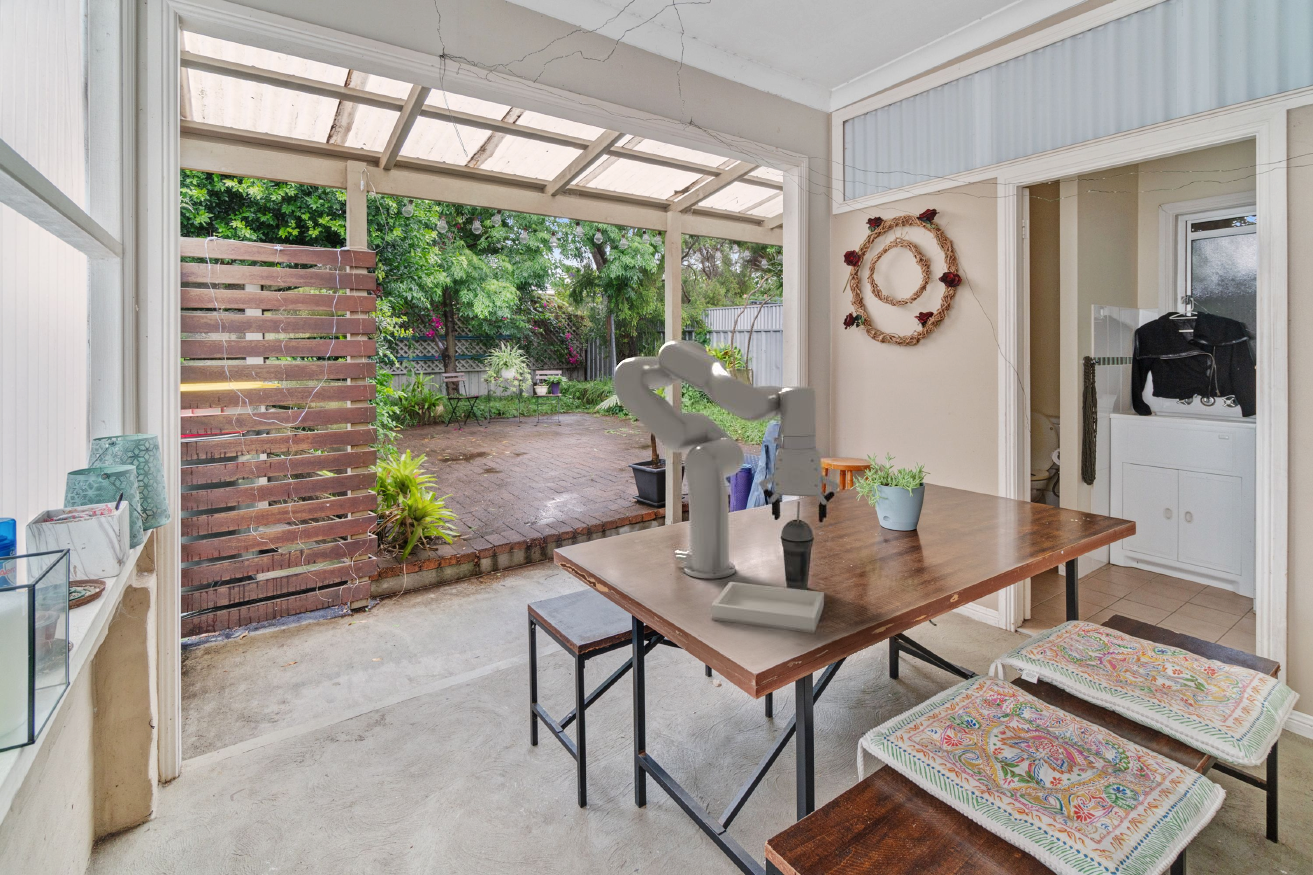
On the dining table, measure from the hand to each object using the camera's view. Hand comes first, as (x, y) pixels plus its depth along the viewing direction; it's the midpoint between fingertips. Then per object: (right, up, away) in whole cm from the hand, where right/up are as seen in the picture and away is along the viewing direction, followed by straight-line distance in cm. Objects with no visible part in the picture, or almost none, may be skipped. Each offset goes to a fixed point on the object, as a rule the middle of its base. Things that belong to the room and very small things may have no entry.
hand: (799, 519), depth 139 cm
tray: (-9, -17, -12) cm, 23 cm away
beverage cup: (0, -16, +2) cm, 16 cm away
